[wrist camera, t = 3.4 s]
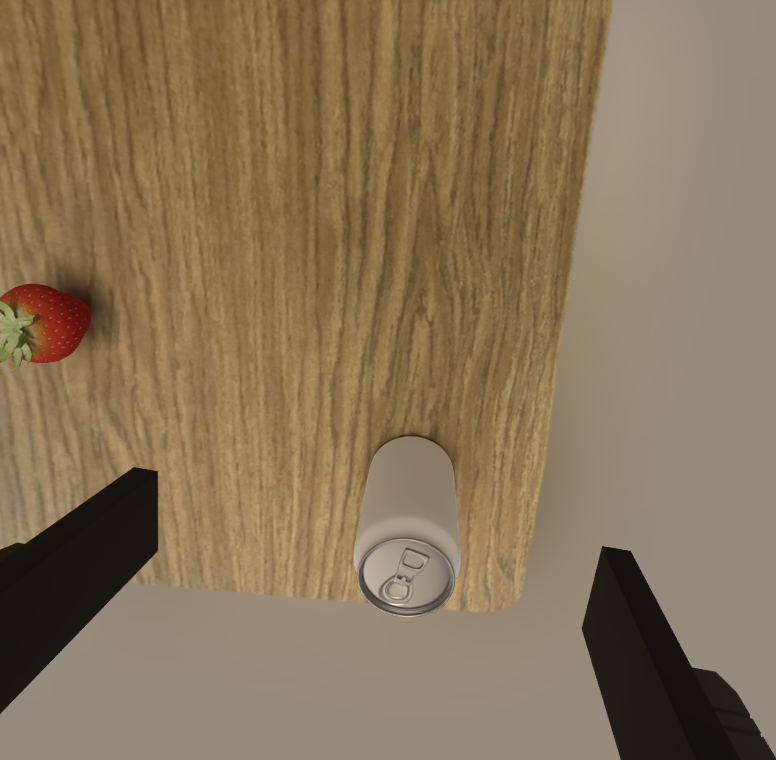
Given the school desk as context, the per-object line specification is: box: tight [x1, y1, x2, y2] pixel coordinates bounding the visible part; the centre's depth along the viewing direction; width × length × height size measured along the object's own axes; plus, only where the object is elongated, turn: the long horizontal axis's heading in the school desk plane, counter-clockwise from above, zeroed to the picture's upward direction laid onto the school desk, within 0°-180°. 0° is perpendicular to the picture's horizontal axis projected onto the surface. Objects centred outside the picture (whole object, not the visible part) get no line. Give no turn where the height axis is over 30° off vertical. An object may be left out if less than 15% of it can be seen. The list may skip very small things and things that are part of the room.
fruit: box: [0, 284, 91, 372], centre depth 36 cm, size 5×5×8 cm
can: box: [354, 436, 461, 617], centre depth 37 cm, size 6×6×12 cm
